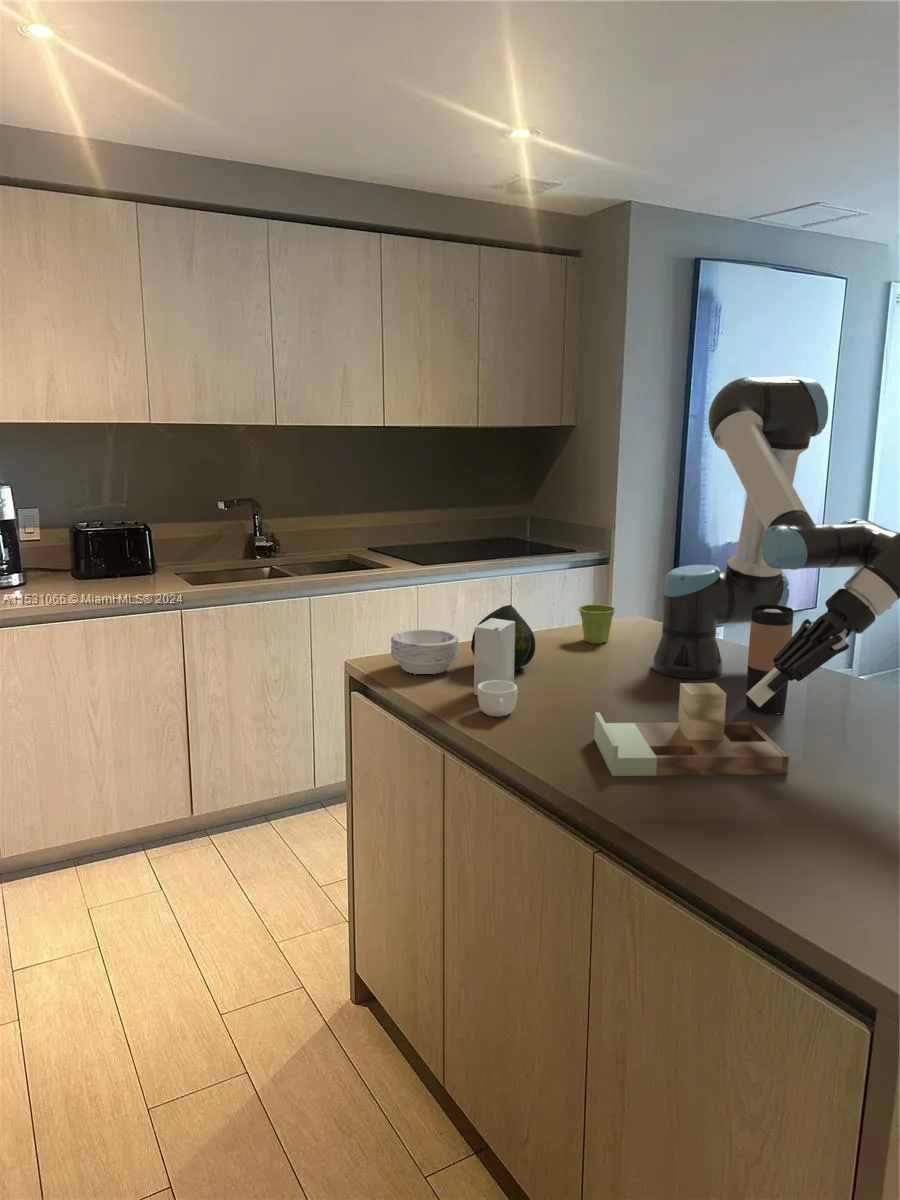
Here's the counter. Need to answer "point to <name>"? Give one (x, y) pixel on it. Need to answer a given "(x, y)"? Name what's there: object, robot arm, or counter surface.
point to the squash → (522, 635)
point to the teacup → (497, 697)
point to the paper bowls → (424, 650)
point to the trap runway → (714, 751)
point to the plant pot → (596, 622)
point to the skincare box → (494, 651)
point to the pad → (624, 748)
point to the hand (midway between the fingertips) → (752, 700)
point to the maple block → (702, 711)
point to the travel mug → (767, 651)
